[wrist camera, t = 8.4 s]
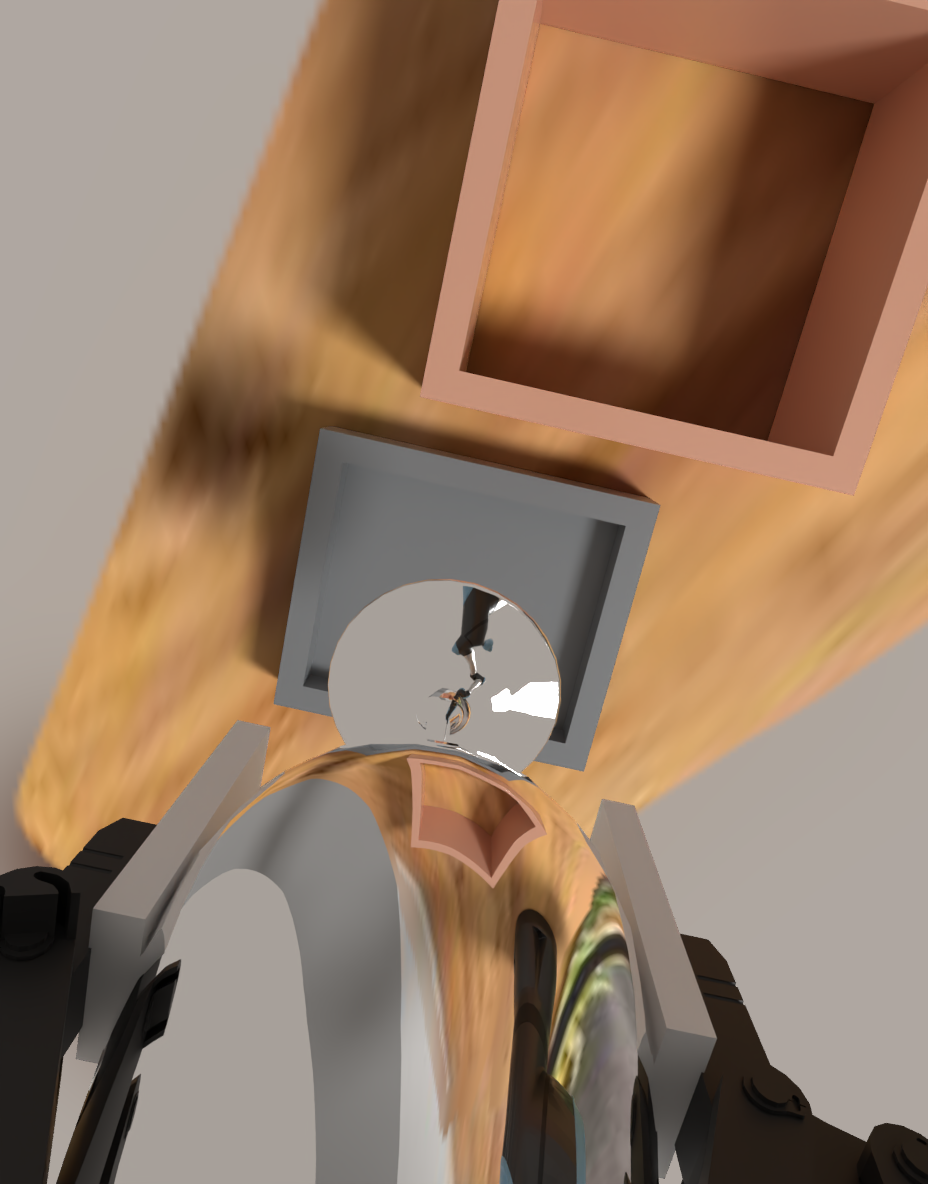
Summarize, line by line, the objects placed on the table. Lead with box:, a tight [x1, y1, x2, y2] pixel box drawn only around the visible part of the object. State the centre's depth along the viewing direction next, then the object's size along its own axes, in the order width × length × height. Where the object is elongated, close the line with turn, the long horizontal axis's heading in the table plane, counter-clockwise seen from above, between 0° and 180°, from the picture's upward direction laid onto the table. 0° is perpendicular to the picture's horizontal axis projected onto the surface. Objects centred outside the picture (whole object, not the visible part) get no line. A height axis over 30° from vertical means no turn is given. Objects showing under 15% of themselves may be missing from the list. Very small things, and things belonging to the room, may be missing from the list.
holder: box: [420, 0, 928, 496], centre depth 29 cm, size 16×16×7 cm
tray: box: [274, 426, 660, 771], centre depth 36 cm, size 15×13×2 cm
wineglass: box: [56, 579, 659, 1184], centre depth 15 cm, size 8×8×20 cm
